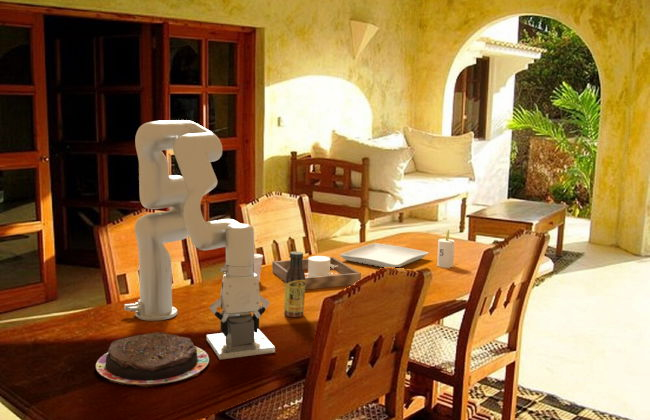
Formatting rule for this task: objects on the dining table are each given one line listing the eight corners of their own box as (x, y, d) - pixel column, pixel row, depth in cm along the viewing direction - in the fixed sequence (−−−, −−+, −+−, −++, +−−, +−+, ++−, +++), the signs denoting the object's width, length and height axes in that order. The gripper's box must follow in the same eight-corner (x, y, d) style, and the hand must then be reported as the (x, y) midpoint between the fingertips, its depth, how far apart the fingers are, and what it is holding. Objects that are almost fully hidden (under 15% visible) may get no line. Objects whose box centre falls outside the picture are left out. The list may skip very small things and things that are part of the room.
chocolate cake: (227, 374, 175) (227, 348, 174) (114, 398, 160) (113, 371, 159) (184, 339, 198) (184, 316, 197) (82, 358, 183) (81, 333, 182)
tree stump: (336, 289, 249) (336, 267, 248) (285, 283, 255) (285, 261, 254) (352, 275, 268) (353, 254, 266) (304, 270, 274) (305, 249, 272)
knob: (231, 346, 188) (229, 319, 186) (224, 338, 194) (223, 311, 192) (255, 342, 190) (254, 315, 189) (248, 334, 196) (247, 308, 195)
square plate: (373, 250, 309) (374, 241, 309) (429, 260, 294) (430, 251, 293) (338, 262, 288) (338, 252, 287) (396, 273, 272) (396, 263, 271)
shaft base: (219, 359, 183) (219, 333, 181) (206, 340, 196) (206, 315, 195) (274, 352, 188) (275, 327, 187) (258, 333, 202) (258, 310, 201)
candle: (433, 266, 283) (435, 229, 280) (442, 263, 288) (444, 227, 285) (447, 269, 279) (449, 231, 276) (456, 266, 284) (458, 229, 281)
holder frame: (295, 290, 245) (295, 279, 245) (272, 271, 269) (272, 261, 268) (360, 284, 255) (360, 273, 254) (332, 266, 279) (332, 256, 278)
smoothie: (242, 282, 253) (242, 244, 251) (250, 278, 259) (250, 241, 257) (257, 285, 251) (258, 246, 249) (266, 280, 257) (266, 243, 254)
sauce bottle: (289, 319, 215) (289, 256, 211) (280, 313, 220) (281, 251, 217) (308, 316, 218) (309, 254, 214) (299, 310, 223) (300, 249, 220)
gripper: (211, 276, 182) (211, 341, 185) (275, 270, 188) (274, 333, 192) (204, 269, 189) (205, 331, 192) (266, 264, 195) (266, 324, 198)
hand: (239, 332), depth 192 cm, fingers open, 7 cm apart
